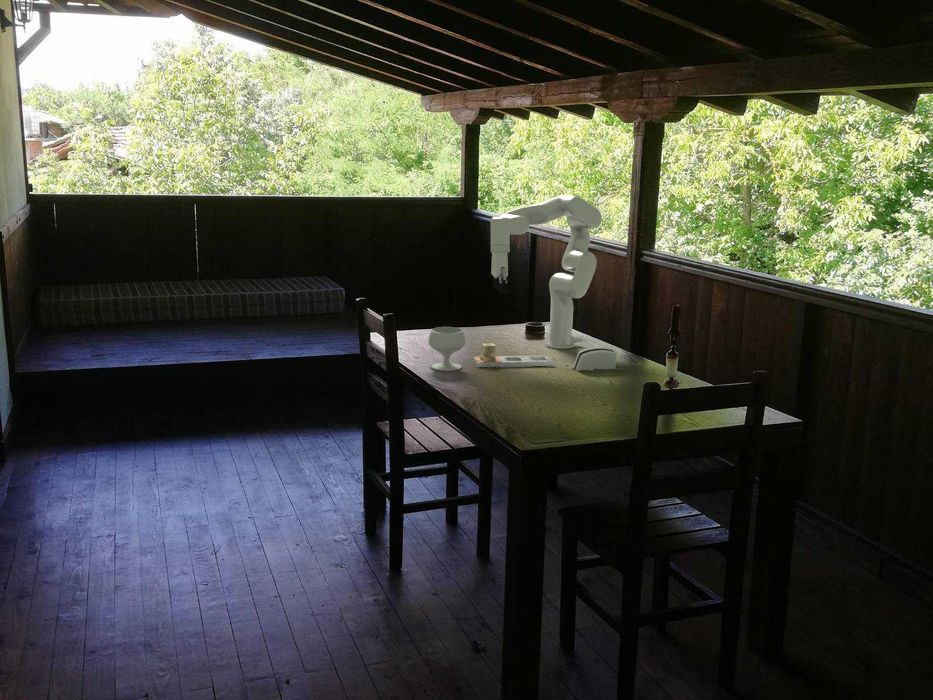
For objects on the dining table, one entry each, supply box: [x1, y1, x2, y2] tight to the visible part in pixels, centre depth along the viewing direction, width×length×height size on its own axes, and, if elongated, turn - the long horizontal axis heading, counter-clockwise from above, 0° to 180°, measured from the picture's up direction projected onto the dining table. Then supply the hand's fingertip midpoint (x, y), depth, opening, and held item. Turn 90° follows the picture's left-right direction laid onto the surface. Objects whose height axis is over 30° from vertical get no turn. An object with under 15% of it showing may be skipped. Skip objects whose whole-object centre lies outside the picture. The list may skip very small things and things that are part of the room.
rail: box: [473, 354, 555, 369], centre depth 345 cm, size 30×10×2 cm, turn 99°
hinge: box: [571, 346, 618, 371], centre depth 338 cm, size 17×5×10 cm, turn 107°
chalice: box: [428, 326, 466, 372], centre depth 335 cm, size 14×14×15 cm
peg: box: [481, 342, 497, 361], centre depth 343 cm, size 4×4×8 cm
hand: (500, 290), depth 352 cm, fingers open, 9 cm apart
